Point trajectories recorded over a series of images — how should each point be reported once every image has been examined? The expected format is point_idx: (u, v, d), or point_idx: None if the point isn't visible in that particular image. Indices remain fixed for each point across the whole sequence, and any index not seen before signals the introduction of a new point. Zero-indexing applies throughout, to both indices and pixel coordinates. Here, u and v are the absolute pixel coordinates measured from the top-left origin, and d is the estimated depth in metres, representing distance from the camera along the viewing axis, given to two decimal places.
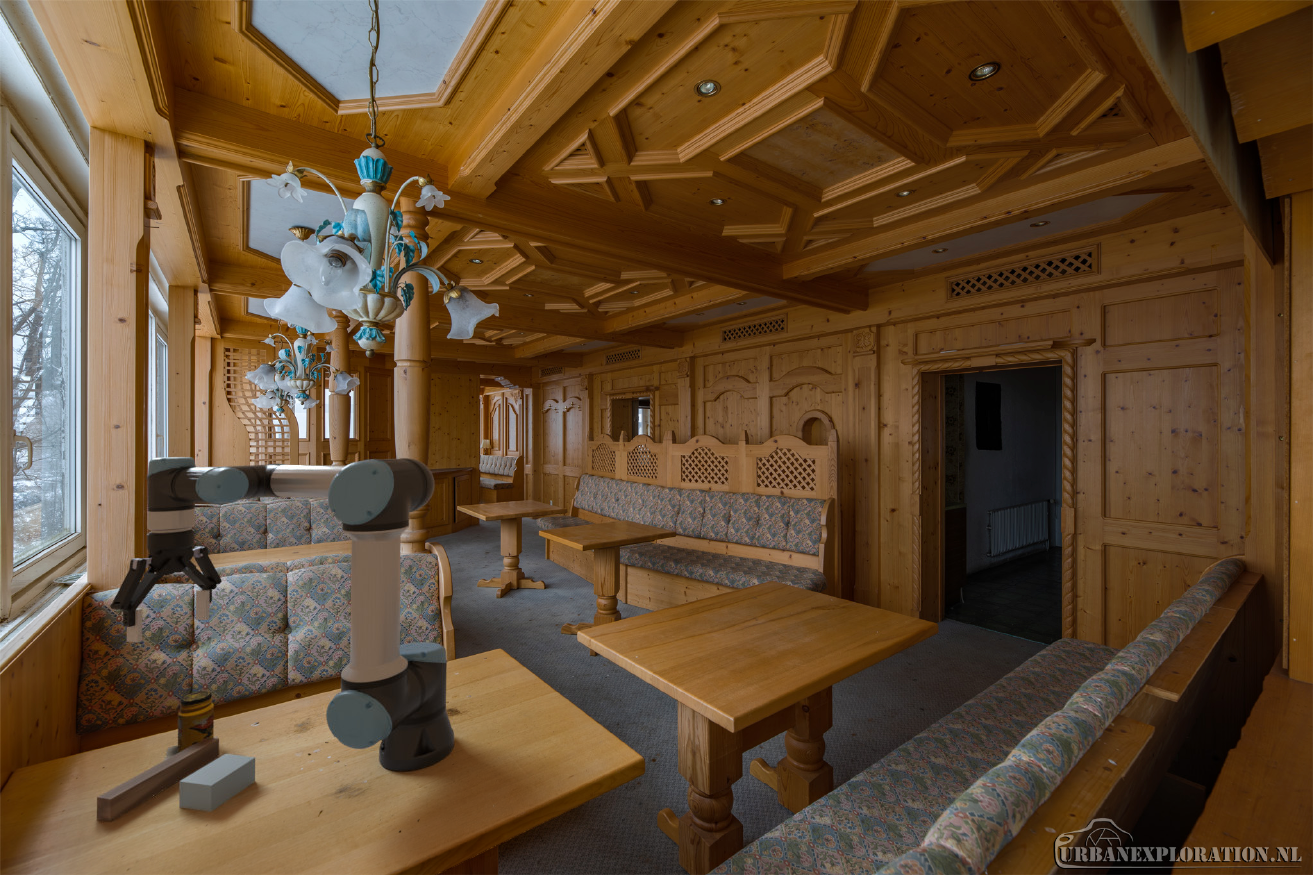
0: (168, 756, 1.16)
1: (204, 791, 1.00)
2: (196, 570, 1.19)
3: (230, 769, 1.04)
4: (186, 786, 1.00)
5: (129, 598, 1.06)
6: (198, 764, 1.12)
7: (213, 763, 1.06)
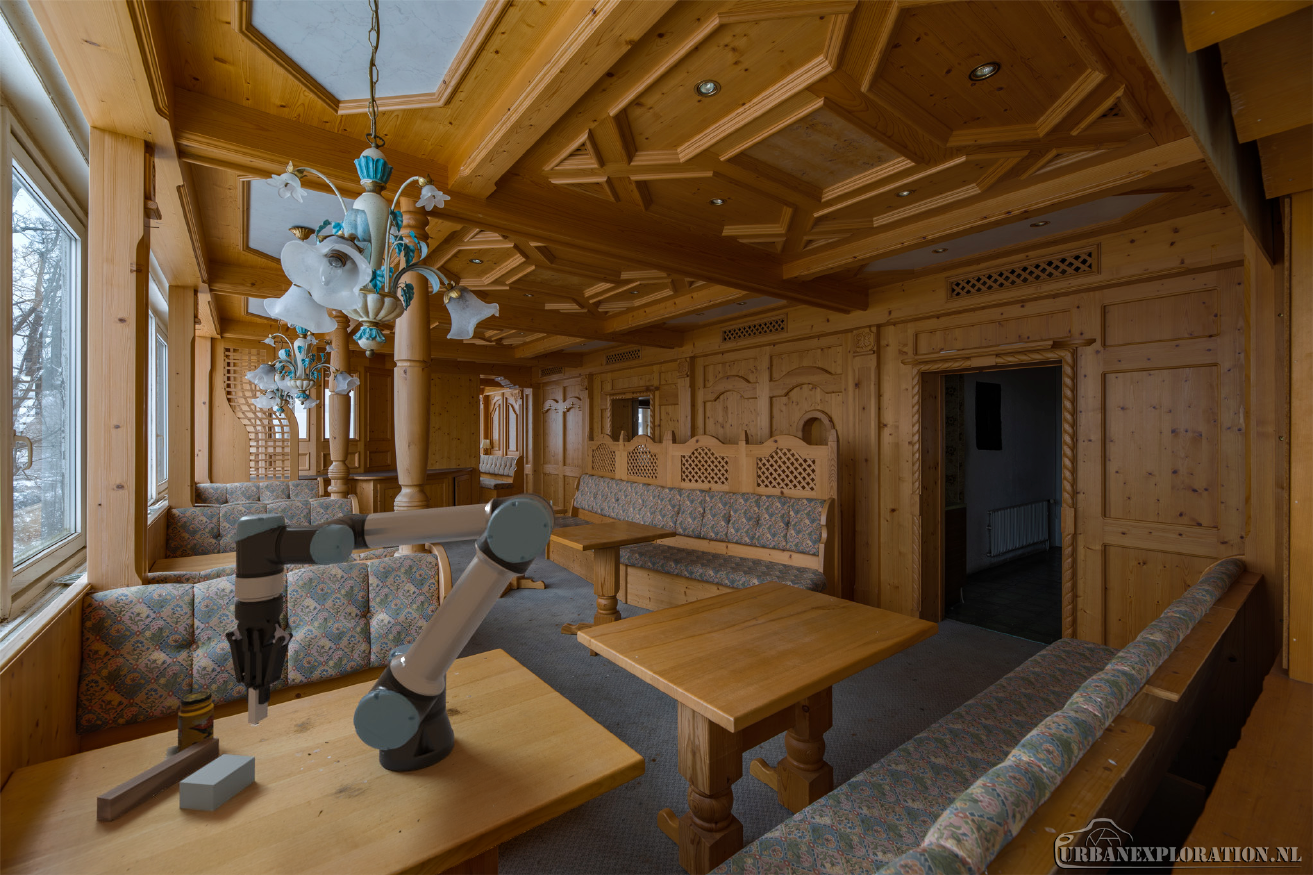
0: (168, 756, 1.16)
1: (206, 790, 1.00)
2: (260, 656, 1.02)
3: (230, 768, 1.05)
4: (186, 787, 1.00)
5: (238, 671, 1.02)
6: (198, 764, 1.12)
7: (212, 763, 1.06)
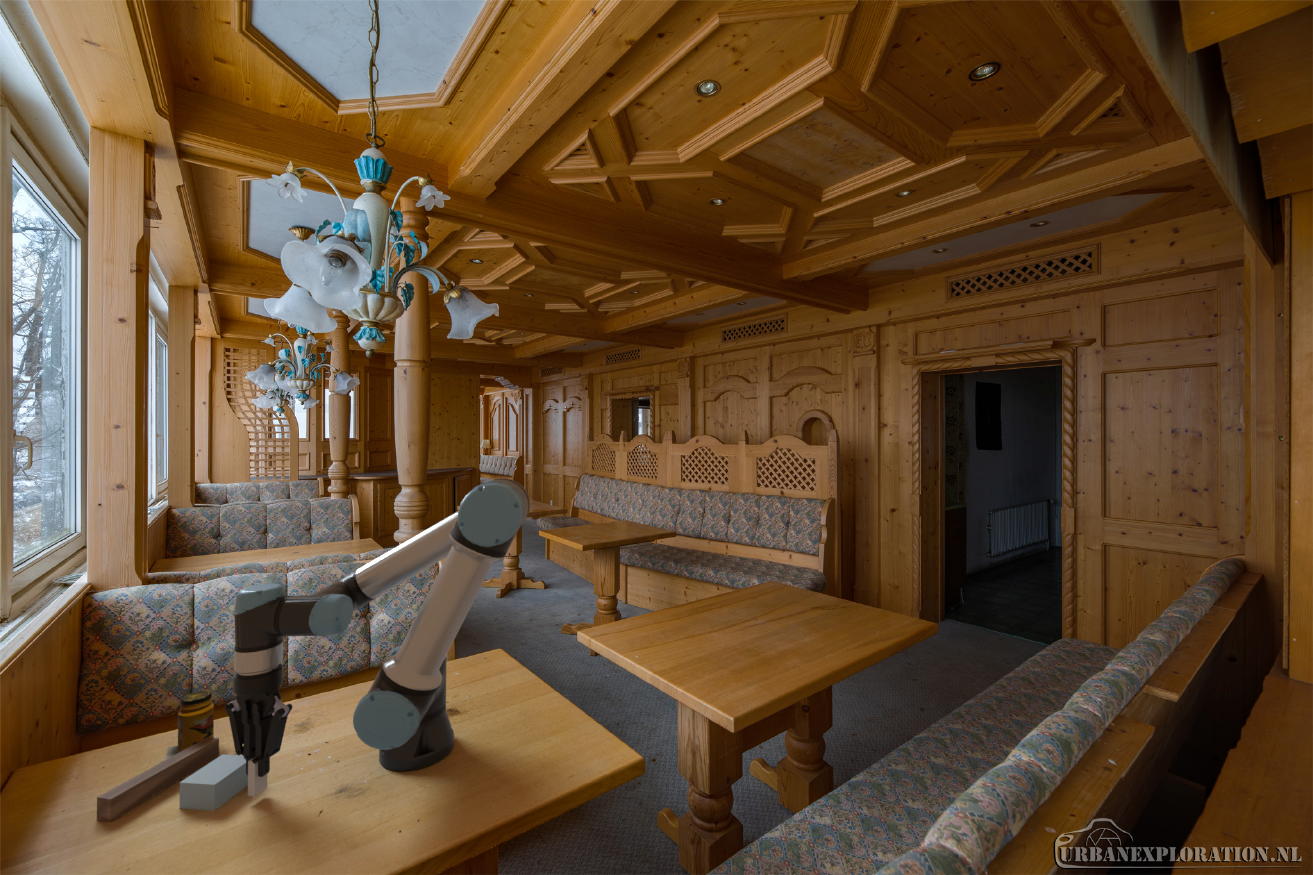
0: (168, 756, 1.16)
1: (207, 790, 1.00)
2: (259, 728, 1.02)
3: (231, 768, 1.05)
4: (187, 787, 1.00)
5: (237, 743, 1.02)
6: (198, 764, 1.12)
7: (211, 764, 1.06)
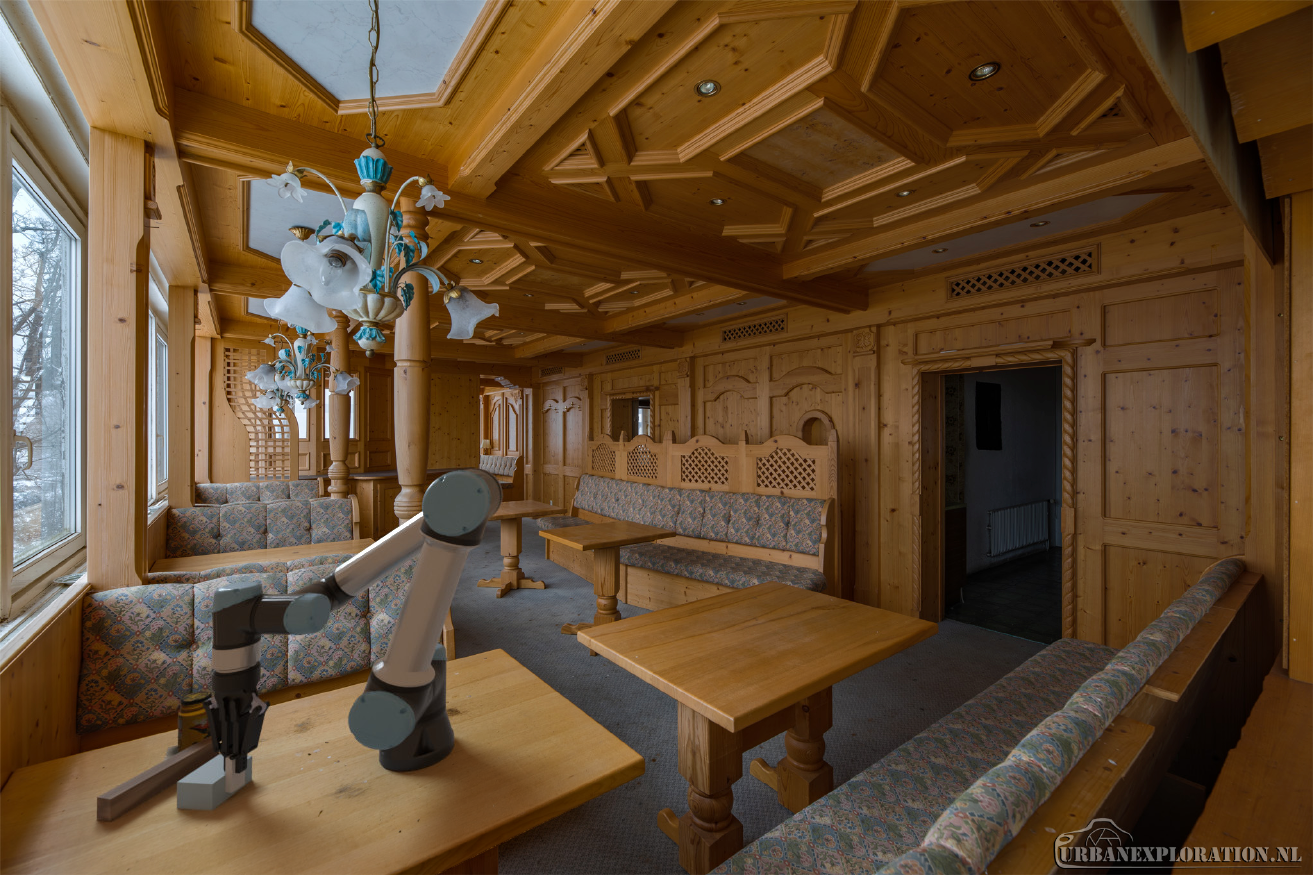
0: (168, 756, 1.16)
1: (205, 790, 1.00)
2: (237, 725, 1.02)
3: None
4: (184, 787, 1.00)
5: (215, 740, 1.03)
6: (198, 764, 1.12)
7: (209, 763, 1.06)
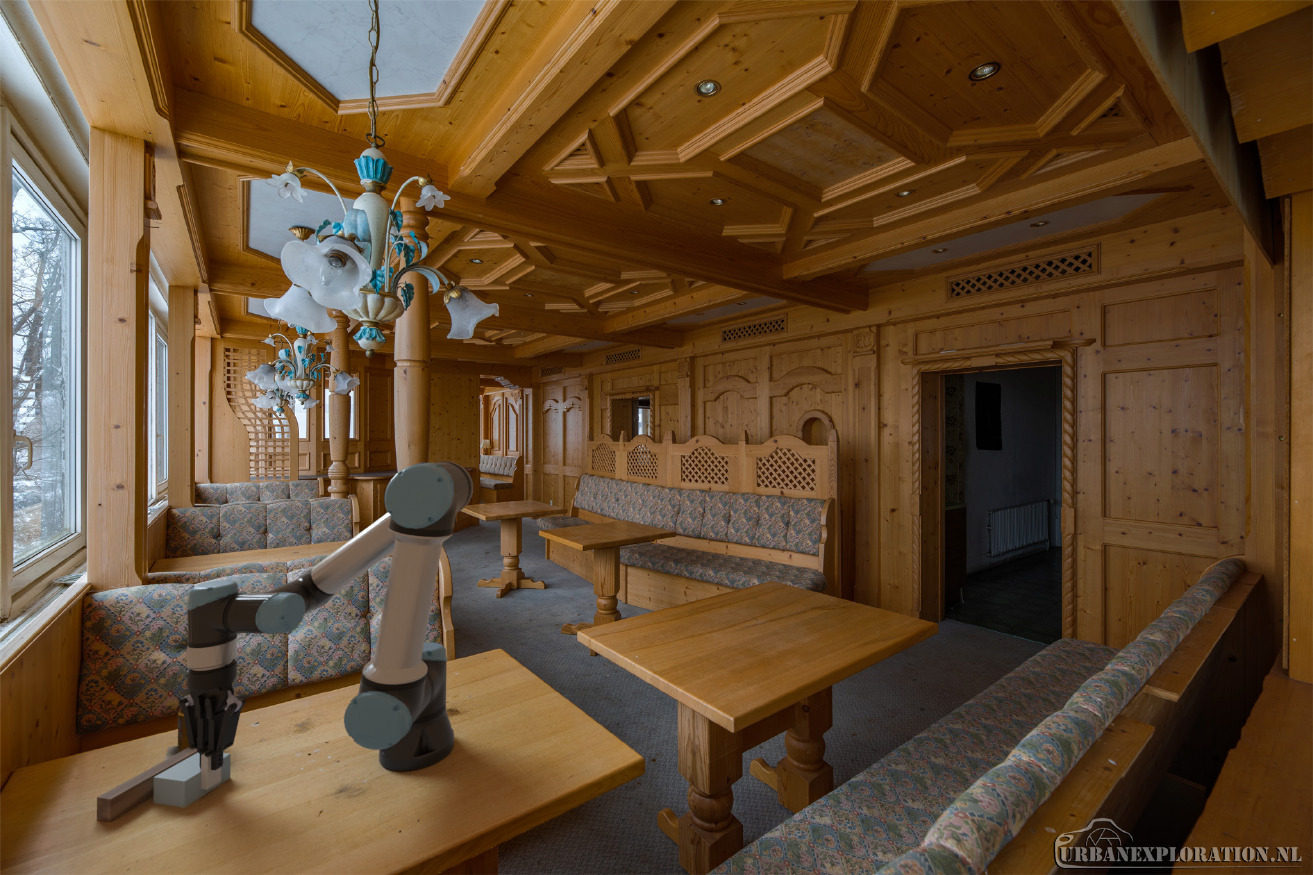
0: (168, 756, 1.16)
1: (178, 787, 1.01)
2: (212, 723, 1.03)
3: None
4: (160, 782, 1.02)
5: (191, 737, 1.04)
6: None
7: (188, 759, 1.07)
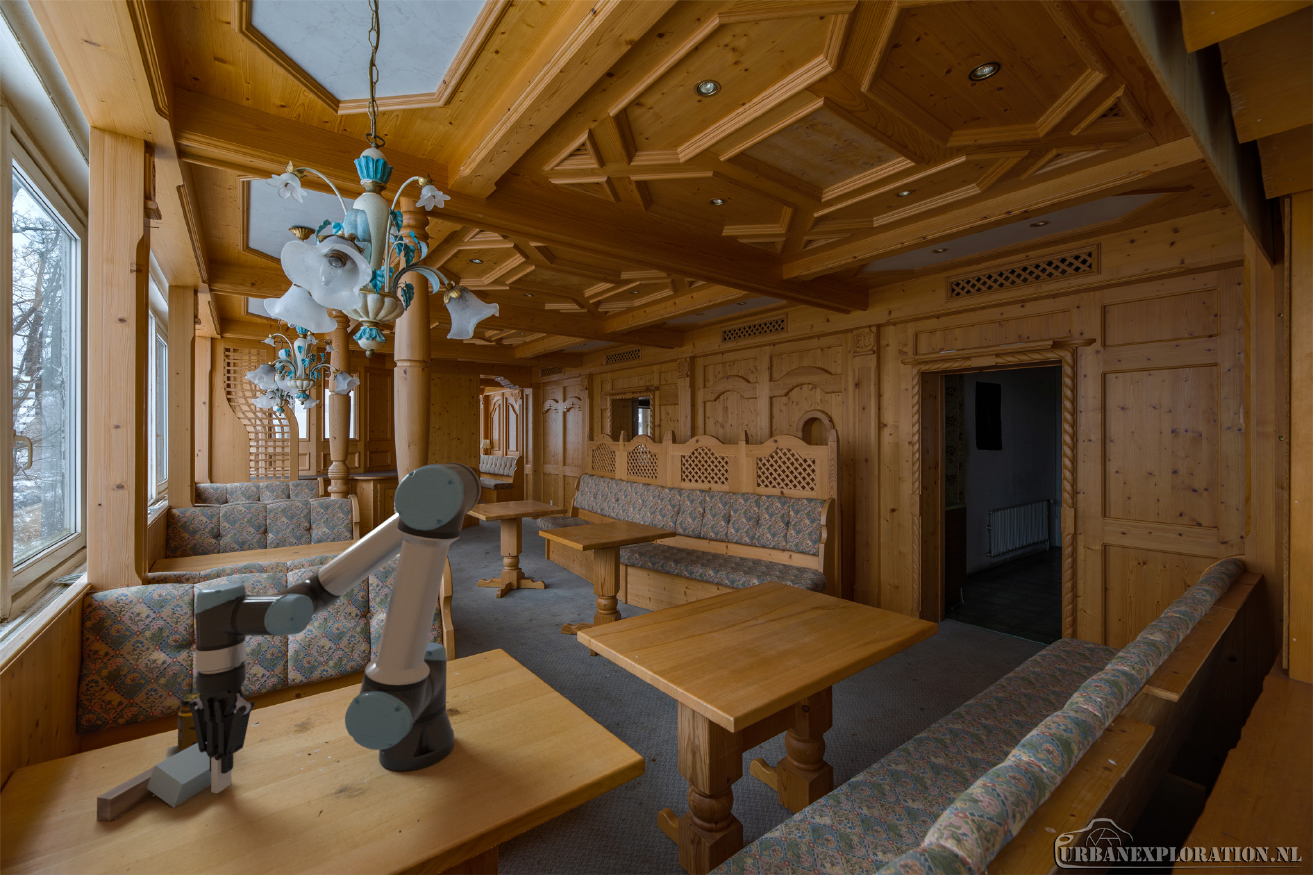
0: (168, 756, 1.16)
1: (175, 786, 1.00)
2: (222, 726, 1.03)
3: (204, 765, 1.05)
4: (159, 773, 1.01)
5: (201, 741, 1.04)
6: None
7: (190, 750, 1.07)
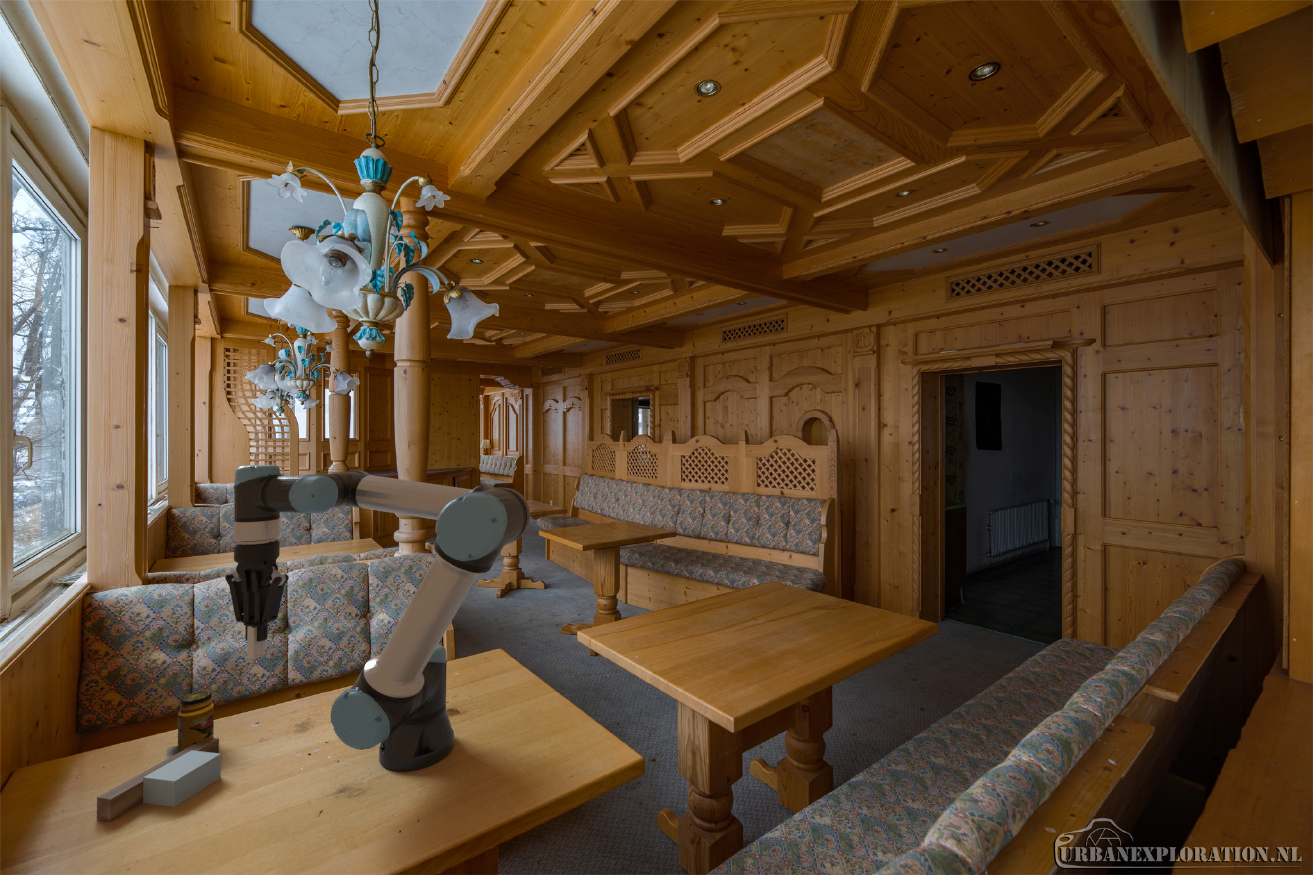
0: (168, 756, 1.16)
1: (168, 786, 1.01)
2: (258, 596, 1.09)
3: (194, 765, 1.06)
4: (150, 782, 1.02)
5: (237, 611, 1.09)
6: None
7: (178, 759, 1.07)
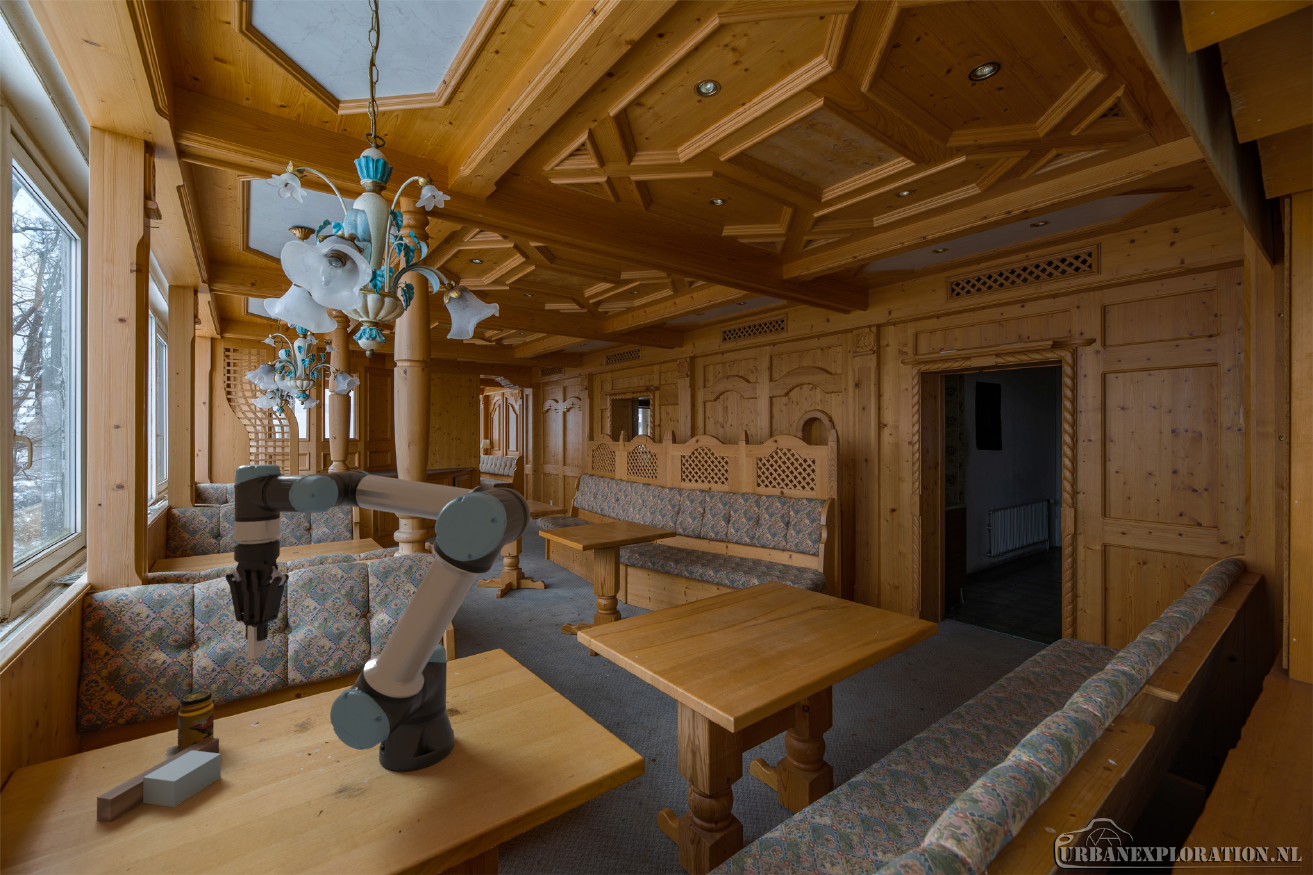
0: (168, 756, 1.16)
1: (168, 786, 1.01)
2: (258, 595, 1.09)
3: (194, 765, 1.06)
4: (150, 782, 1.02)
5: (237, 610, 1.10)
6: None
7: (178, 759, 1.07)
